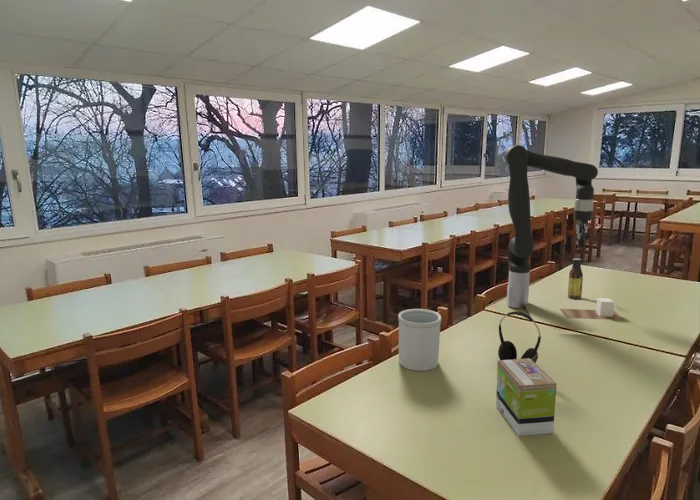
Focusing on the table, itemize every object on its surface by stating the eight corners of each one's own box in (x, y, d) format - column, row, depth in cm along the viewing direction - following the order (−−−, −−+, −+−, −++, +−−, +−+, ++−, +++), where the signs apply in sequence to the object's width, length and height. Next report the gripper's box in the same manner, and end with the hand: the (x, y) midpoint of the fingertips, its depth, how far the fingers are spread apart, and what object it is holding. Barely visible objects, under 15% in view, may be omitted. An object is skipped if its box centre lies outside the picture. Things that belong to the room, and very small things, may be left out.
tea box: (494, 406, 133) (496, 358, 130) (527, 404, 134) (530, 356, 131) (517, 437, 118) (520, 384, 115) (554, 434, 119) (558, 382, 116)
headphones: (532, 379, 148) (535, 320, 144) (490, 365, 159) (493, 310, 155) (544, 370, 154) (548, 314, 150) (503, 357, 165) (506, 304, 161)
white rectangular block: (600, 316, 199) (601, 301, 198) (595, 312, 204) (597, 298, 203) (612, 316, 198) (614, 302, 197) (608, 312, 203) (609, 298, 202)
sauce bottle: (582, 299, 226) (586, 260, 223) (569, 299, 228) (572, 260, 224) (579, 296, 233) (582, 257, 229) (565, 295, 234) (568, 257, 230)
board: (566, 321, 199) (566, 317, 198) (559, 311, 210) (559, 308, 210) (624, 323, 195) (624, 319, 194) (613, 313, 206) (613, 310, 206)
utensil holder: (443, 356, 166) (444, 310, 163) (436, 374, 153) (437, 325, 149) (403, 351, 171) (403, 306, 168) (393, 369, 158) (393, 320, 154)
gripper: (570, 207, 213) (567, 244, 217) (579, 211, 200) (576, 249, 204) (587, 207, 212) (584, 244, 215) (597, 211, 199) (594, 250, 203)
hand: (580, 247), depth 210 cm, fingers closed
